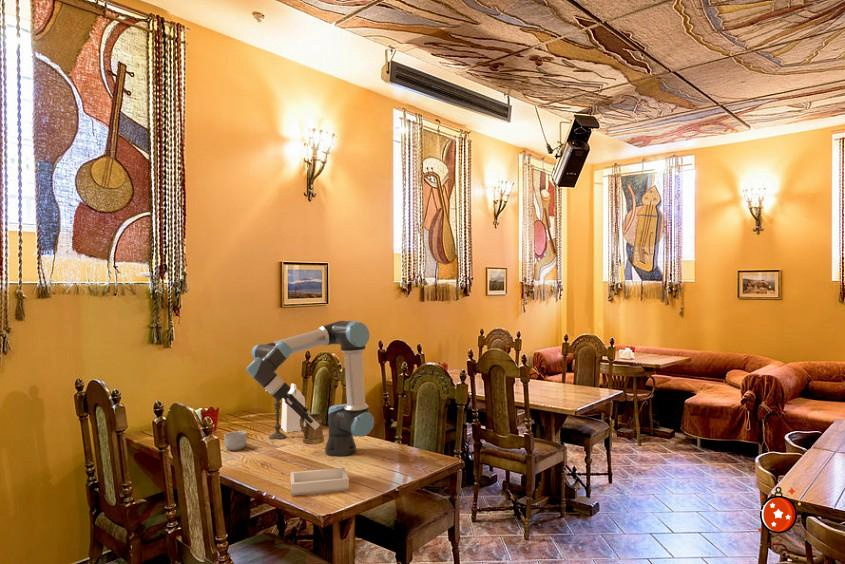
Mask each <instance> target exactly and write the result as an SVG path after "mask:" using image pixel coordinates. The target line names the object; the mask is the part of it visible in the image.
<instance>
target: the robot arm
mask: <svg viewBox="0 0 845 564" xmlns="http://www.w3.org/2000/svg"><path fill="white" fill-rule="evenodd" d="M370 336H371V335H370V331H369V328H368V326H367V325H366V324H365V323H363V322H361V321H357V320H338V321H335V322H330V323H328V324H326V325H322V326H319V327H318V328H317V329H314V330H312V331H308V332H305V333H300V334H298V335H294V336H290V337H287V338H283V339H279V340H275V341H272V342H269V343H265V344H263V343H259V344H256V345H254V347H253V348H252V349H251V357H252V358H253V361H251V363H249V365H248V366H246V368H245V371H246V372H247V373H248V375H249V376H251V378H252V379H254V381H255V382H257V384H258V385H260V386H261V387H263V389H265V390H264V392H268V393H269V394H270V395H272V397H273V398H274V399H275V401H276V400H277V401H281V400H282V398H283V399H284V400H285V403H286V404H288V405H289V406H290V407H291V408H292V409H293V410H294V411H295V412H296V413H297V414H298V415H299V416H300V417H301V418H302V420H305V421H306V422H307V423H308V424H310V425H311V426H312V427H313V428H314V429H315V430H316V429H317V428H318V427H319V426H320V424H319V423H318V422H316V421H315V420H314V419H313V418H312V417H311V416H310V414H312V412H310V411H309V408H308V407H306V406H305V407H304V406H303V405H302V404H301V403H300V402H299V401H298V400H297V399H296V398H295V397H294V396H293V395H292V394H289V393H288V392H289V391H290V389H291V385H290V386H289V384H288V383H286V382H284V379H282V378H281V376H279V375H278V374H277V373H276V372H275V371H277V369H278V368H279V367H280V366H281V365H282V364H284V363H285V362H286V360H287V359H289V357H290V356H291V355H292V354H296V353H299V352H302V351H306V350H310V349H312V348H313V349H314V348H315V347H316V348H317V347H319V346H323V347H326V346H331V345H339V346H340V351H341V353H343V355H344V373H345V389H346V390H345V391H346V392H345V393H346V403H342V404H340V403H339V404H334V405H331V406H330V407H328V438H327V441H326V445H325V448H324V453H325V454H326V455H327V456H330V457H344V456H350V455H353V454H355V453H357V445H356V443H355V442H356V441H355V439H354V437H359V438H363V437H365V436H367V435H369V434H370V433H371V431H372V430H373V429H374V425H375V418H374V416H373V414H371V412H370V409H369V408H370V406H369V405H368V403H366V395H365V394H366V393H365V375H364V362H363V361H364V358H363V357H364V356H363V353H364V351H365V350H366V345H367V344H368V341H370ZM295 402H297V403H298V404H300V405H301V406H302V407H303V409H304V410H305V412H304V411H303V410H302V409H301V408H300V407H299V406H298V405H297V404H296V403H295Z"/></svg>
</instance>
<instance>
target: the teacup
mask: <svg viewBox="0 0 845 564" xmlns="http://www.w3.org/2000/svg"><path fill="white" fill-rule="evenodd" d="M223 437H224V439H223V440H224V447H225V449H228V450H229V451H230V450H233V452H234V451H235V450H236V451H240V450H242V449H244V447H245V446H246V444H247V431H244V430H237V431H230V432H227V433H225V434H223Z"/></svg>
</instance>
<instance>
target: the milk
mask: <svg viewBox="0 0 845 564" xmlns="http://www.w3.org/2000/svg"><path fill="white" fill-rule="evenodd" d="M290 388H291V389H290V391H289V392H288V393H289V394H292V395H293V396H294V397H295V398H296V399H297V400H298V401H299V402H300V403H301V404H302V405H303V406H304V407H306V398H305V396H304V395H303V394H302V392H301V390H300V389H298V387H297V384H295V383H290ZM281 400H282V402H281V420H280V421H281V424H280V425H281V428H282V429H283V430H282V429H281V428H280V429H281V430H282V431H284V432H285V433H286V432H290V433H294V432H293V431H298V432H302V431H301V430H302V429H301V427H300V418H301V417H300V416H299V415H298V414H297V413H296V412H295V411H294V410H293V409H292V408H291V407H290V406H289V405H288V404H286V403H285V400H284V399H283V398H282V399H281ZM304 426H305V427H306V423H305V421H304Z"/></svg>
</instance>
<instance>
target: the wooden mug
mask: <svg viewBox="0 0 845 564" xmlns="http://www.w3.org/2000/svg"><path fill="white" fill-rule="evenodd" d="M295 403H296V404H297V405H298V406H299V407H300V408H301V409H302V410H303V411H304V412H305V410H304V409H303V407H302V406H301V405H300V404H298V403H297V402H295ZM310 416H311V417H312V418H313V419H314V420H315V421H316V422H318V423H319V424H320V426H319V427H318V428H317V429H316V430H315V429H314V428H313V427H312V426H311V425H310V424H308V423H307V422H306V421H305V420H302V418H300V427H301V429H302V431H301V432H302V433H303V438H302V443H303V444H305V445H320V444H323V443H324V442H325V437H324V431H323V424H322V423H323V419H322V414H319V413H311V414H310ZM304 421H305V423H306V427H305V426H304Z"/></svg>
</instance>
